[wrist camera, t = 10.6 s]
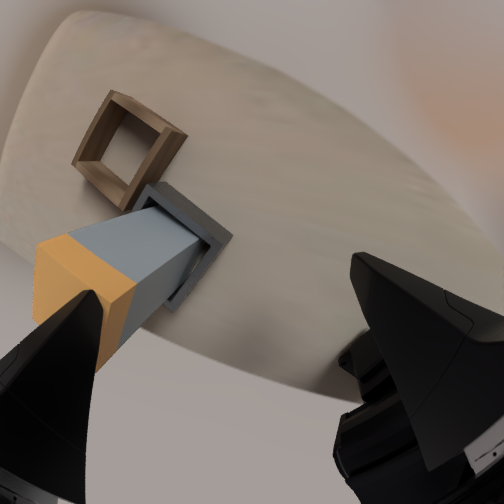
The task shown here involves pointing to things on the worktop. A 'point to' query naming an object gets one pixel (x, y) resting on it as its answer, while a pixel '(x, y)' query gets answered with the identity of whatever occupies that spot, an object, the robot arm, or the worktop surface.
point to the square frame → (101, 136)
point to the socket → (195, 222)
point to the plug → (116, 270)
